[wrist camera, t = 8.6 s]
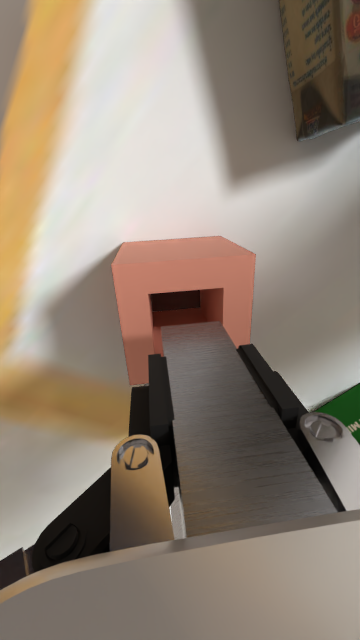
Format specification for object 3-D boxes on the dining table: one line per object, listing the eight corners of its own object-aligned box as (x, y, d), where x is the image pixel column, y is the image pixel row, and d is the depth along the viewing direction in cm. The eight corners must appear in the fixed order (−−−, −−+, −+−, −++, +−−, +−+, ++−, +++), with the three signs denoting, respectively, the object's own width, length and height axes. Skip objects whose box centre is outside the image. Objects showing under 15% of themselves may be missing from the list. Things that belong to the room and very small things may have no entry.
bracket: (220, 236, 22) (255, 254, 15) (218, 346, 27) (245, 401, 20) (122, 242, 22) (111, 264, 14) (138, 355, 26) (134, 415, 19)
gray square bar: (220, 320, 14) (515, 799, 3) (219, 370, 15) (421, 835, 4) (160, 326, 13) (229, 880, 3) (165, 376, 15) (223, 892, 4)
